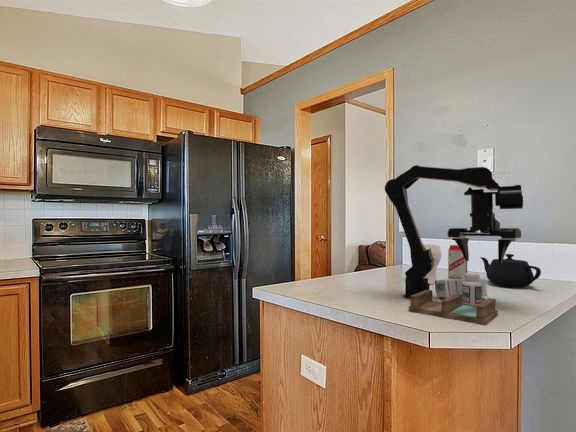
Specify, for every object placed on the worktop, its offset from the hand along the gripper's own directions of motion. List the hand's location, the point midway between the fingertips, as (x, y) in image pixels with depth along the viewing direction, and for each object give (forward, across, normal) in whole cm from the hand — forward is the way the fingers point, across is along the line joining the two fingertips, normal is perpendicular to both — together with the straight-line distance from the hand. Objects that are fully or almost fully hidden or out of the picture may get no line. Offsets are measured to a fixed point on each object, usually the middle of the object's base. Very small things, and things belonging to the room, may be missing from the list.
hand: (483, 262), depth 107 cm
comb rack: (+12, +2, +18) cm, 22 cm away
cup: (+12, +29, -22) cm, 39 cm away
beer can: (+13, +15, -16) cm, 25 cm away
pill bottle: (+13, +2, +3) cm, 13 cm away
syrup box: (+9, +4, -10) cm, 14 cm away
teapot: (+13, +6, -42) cm, 45 cm away
